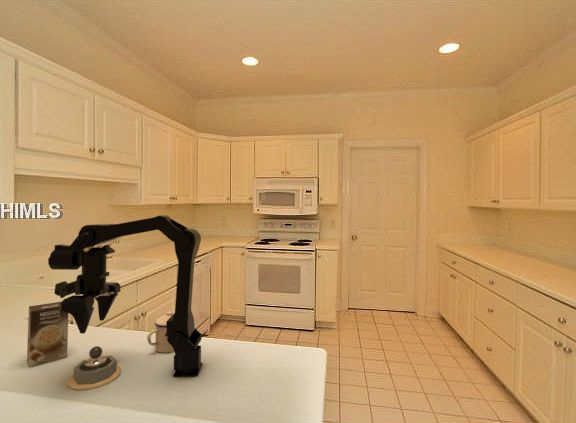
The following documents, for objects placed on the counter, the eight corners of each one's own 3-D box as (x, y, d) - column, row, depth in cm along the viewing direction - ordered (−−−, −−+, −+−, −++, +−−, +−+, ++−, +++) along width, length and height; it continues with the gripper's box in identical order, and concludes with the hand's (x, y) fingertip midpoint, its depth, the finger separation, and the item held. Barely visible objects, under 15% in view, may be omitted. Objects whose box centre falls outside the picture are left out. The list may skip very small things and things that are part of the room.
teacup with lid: (174, 338, 104) (174, 305, 104) (189, 346, 99) (190, 311, 99) (140, 351, 95) (140, 314, 95) (155, 360, 89) (155, 321, 89)
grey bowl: (129, 364, 86) (129, 352, 86) (106, 389, 74) (106, 375, 74) (86, 366, 85) (86, 353, 85) (56, 391, 73) (56, 376, 73)
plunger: (110, 366, 82) (110, 342, 83) (100, 376, 78) (100, 351, 78) (91, 367, 82) (91, 342, 82) (80, 377, 77) (80, 351, 77)
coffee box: (28, 368, 84) (29, 311, 84) (26, 360, 89) (27, 306, 89) (68, 357, 90) (68, 304, 90) (64, 350, 95) (65, 300, 95)
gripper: (83, 263, 90) (82, 315, 90) (37, 277, 72) (35, 341, 72) (121, 264, 91) (120, 314, 91) (85, 277, 73) (84, 341, 73)
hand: (92, 326), depth 82 cm, fingers open, 9 cm apart
